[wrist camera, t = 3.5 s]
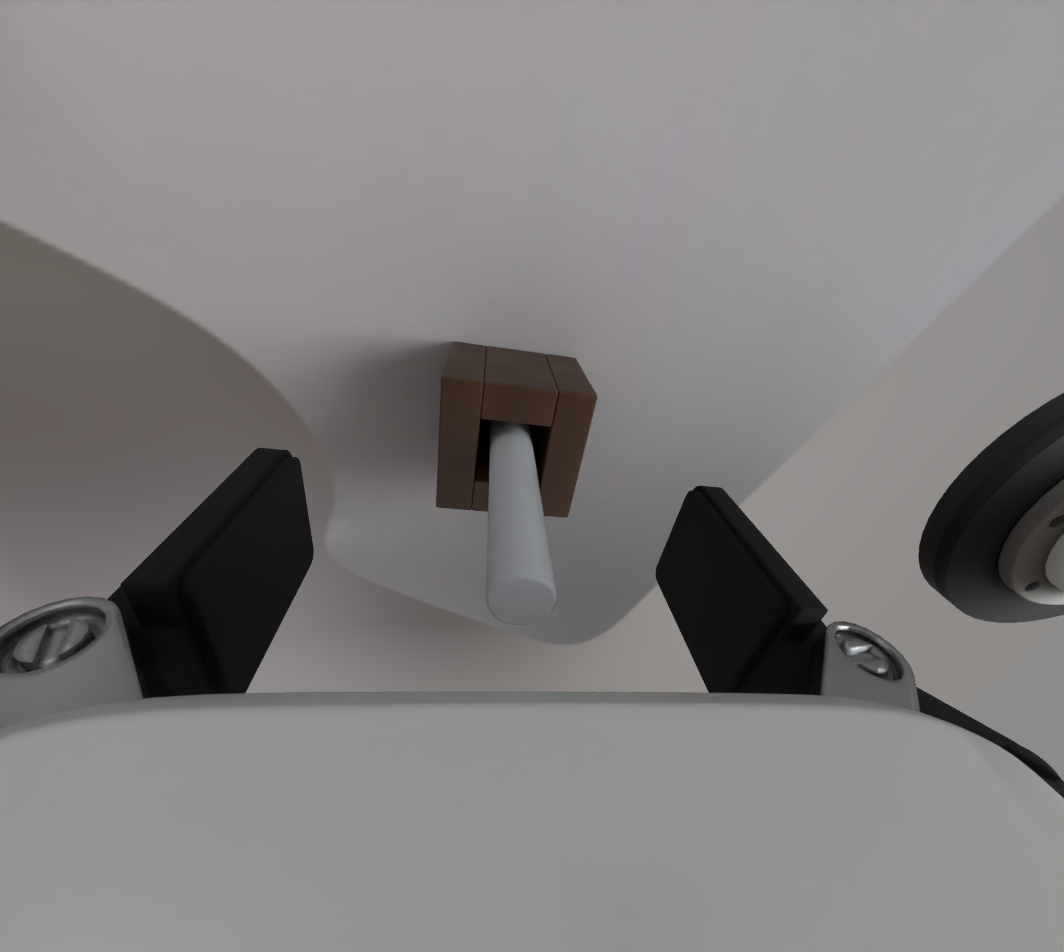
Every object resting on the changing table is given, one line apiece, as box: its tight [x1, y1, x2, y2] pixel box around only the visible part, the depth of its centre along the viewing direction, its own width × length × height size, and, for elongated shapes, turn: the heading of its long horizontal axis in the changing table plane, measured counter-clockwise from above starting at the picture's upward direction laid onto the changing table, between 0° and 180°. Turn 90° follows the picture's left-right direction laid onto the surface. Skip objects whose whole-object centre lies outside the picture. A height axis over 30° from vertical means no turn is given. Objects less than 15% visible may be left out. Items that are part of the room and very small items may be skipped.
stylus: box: [486, 420, 557, 625], centre depth 12 cm, size 1×1×10 cm
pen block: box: [436, 342, 597, 517], centre depth 15 cm, size 5×5×4 cm
